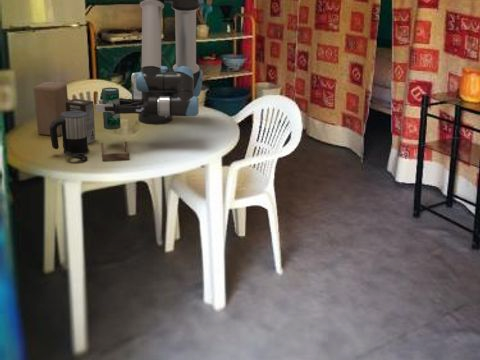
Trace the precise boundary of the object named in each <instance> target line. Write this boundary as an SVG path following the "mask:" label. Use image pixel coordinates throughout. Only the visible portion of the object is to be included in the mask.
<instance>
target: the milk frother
mask: <svg viewBox="0 0 480 360" xmlns="http://www.w3.org/2000/svg"><path fill="white" fill-rule="evenodd" d="M61 115H62V118H60V119H56V120H54V121H53V122H52V123H51V124H50V135H49V136H50V141H51V146H52V148H53V149H54V150H58V149H59V148H60V145H59V139H58V138H59V136H57V127H58V126H59V125H62V135H61V137H62V148H63V153H64V154H65V155H67V156H70V157H73V158H76V159H77V160H80V161H84V160H87V159H88V155H86V154H87V153H89V152H90V151H89V145H88V144H87V128H86V112H82V111H68V112H64V113H62V114H61Z"/></svg>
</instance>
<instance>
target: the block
mask: <svg viewBox="0 0 480 360" xmlns="http://www.w3.org/2000/svg"><path fill="white" fill-rule="evenodd" d="M33 95H34V104H35V116H36V117H35V118H36V126H37V133H38V135H44V136H51V135H50V124H51V123H52V122H53V121H54V120H56V119H60V118H62V115H61V114H62V113H64V112H66V102H67V101H69V100H68V97H69V96H68V87H67V83H65V82H55V81H45V82H42V83H39V84H37V85H35V86H34V87H33ZM60 136H62V125H59V126H58V127H57V137H60Z"/></svg>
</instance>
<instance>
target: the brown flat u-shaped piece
mask: <svg viewBox="0 0 480 360" xmlns="http://www.w3.org/2000/svg"><path fill="white" fill-rule="evenodd" d="M100 146H101V147H100V148H101V158H102V159H101V160H102V162H110V161H113V162H114V161H129V160H130V151H129V147H128V142H127V141H124V151H125V152H111V153H109V152H107V153H105V148H104V147H105V146H104V142H100Z"/></svg>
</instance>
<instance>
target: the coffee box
mask: <svg viewBox="0 0 480 360" xmlns="http://www.w3.org/2000/svg"><path fill="white" fill-rule="evenodd" d="M68 111H82V112H86V128H87V144H91V143H92V142H94V141H96V128H95V125H96V124H95V113H94V112H95V110H94V101H93V100H89V99H88V100H87V99H80V98H72V99H70V100H68V101H67V102H66V112H68Z"/></svg>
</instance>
